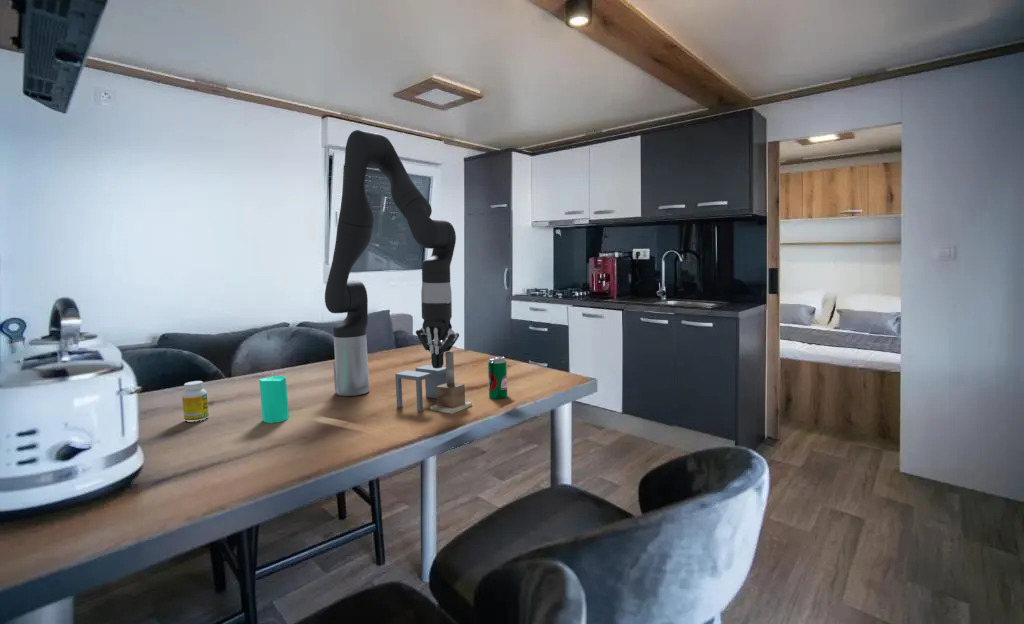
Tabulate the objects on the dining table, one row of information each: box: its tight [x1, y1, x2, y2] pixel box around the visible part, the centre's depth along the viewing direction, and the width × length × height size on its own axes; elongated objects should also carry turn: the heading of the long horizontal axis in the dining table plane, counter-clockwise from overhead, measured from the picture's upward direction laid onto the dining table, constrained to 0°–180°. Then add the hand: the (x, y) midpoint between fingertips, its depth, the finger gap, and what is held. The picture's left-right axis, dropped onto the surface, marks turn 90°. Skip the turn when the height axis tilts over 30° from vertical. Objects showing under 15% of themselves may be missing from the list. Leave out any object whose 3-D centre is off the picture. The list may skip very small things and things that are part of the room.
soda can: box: [487, 356, 509, 400], centre depth 138 cm, size 5×5×12 cm
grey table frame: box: [394, 364, 447, 412], centre depth 135 cm, size 27×14×10 cm, turn 58°
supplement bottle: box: [181, 380, 210, 420], centre depth 129 cm, size 5×5×10 cm
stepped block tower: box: [429, 351, 473, 415], centre depth 129 cm, size 7×8×14 cm
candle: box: [258, 372, 290, 424], centre depth 127 cm, size 6×6×12 cm
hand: (437, 367), depth 130 cm, fingers closed
